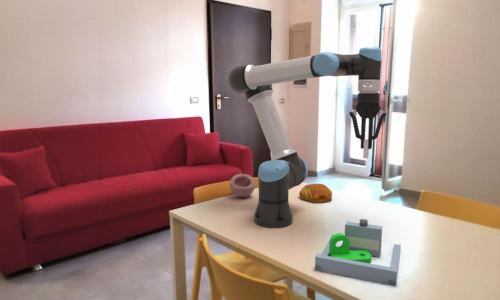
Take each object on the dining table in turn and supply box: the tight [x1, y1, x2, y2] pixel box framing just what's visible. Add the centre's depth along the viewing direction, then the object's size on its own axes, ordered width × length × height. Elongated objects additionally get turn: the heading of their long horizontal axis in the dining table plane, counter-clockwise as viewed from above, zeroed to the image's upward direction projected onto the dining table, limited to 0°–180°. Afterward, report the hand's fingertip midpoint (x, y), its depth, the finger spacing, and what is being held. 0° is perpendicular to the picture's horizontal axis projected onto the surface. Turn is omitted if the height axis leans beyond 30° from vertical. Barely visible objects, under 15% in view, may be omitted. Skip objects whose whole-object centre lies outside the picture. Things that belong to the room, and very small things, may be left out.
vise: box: [314, 234, 401, 286], centre depth 114 cm, size 22×24×4 cm
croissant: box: [298, 183, 333, 204], centre depth 174 cm, size 14×16×8 cm
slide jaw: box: [344, 218, 383, 258], centre depth 118 cm, size 11×3×11 cm, turn 66°
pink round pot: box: [229, 173, 256, 198], centre depth 178 cm, size 12×12×11 cm
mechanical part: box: [329, 232, 372, 264], centre depth 113 cm, size 12×6×8 cm, turn 94°
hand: (365, 157), depth 136 cm, fingers closed
